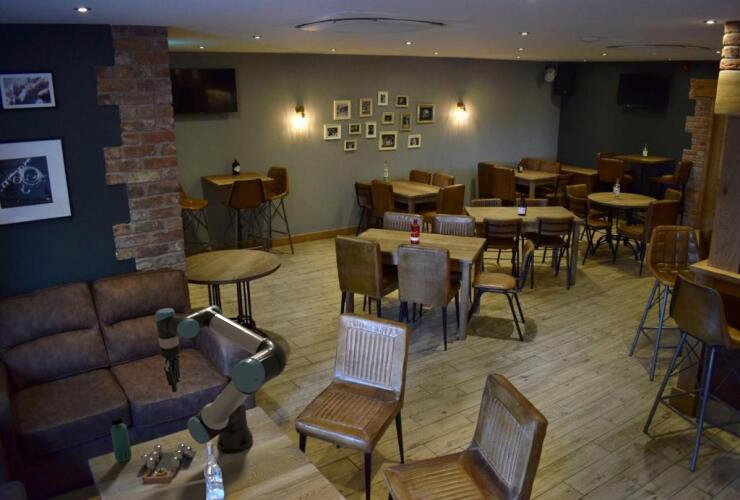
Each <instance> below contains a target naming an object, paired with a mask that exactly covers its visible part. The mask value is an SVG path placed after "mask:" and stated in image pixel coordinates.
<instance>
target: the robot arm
mask: <svg viewBox="0 0 740 500" xmlns="http://www.w3.org/2000/svg"><path fill="white" fill-rule="evenodd" d="M155 322H156V324H155V325H156V329H157V336H158V338H157V340H158V342H159V347H160V348H159V350H160V352H159V353H160V356H161V357H163V358H165V363H164V364H165V366H163V370H164V372H165V376H166V379H167V385H168V386H170V388H171V396H172V399H180V398H181V391H180V382H181V379H180V378H181V373H180V371H181V370H180V352H181V350H180V349H181V348H180V344H179V343H180V342H179V337H180V338H181V337H182V338H186V339H187V338H188V339H192V338H195V337H196V336H197V334H199V332H200V331H201V330H203V329H208V330H211V331H212V332H214V333H215V334H217V335H219V336H221V337H223V338H224V339H225V340H227V341H230V343H233V344H234V345H236V346H238V347H239V348H242V349H243V350H245V351H247V352H248V353H249V354H251V355H249V356H248V357H245V358H243V359H241V360H239V361H238V362H237V363H236V364H235V365H234V366H233V368H232V371H231V381H230V383H228V385H227V386H226V387H225V388H224V389H223V390H222V392H220V394H218V395H217V396H216V397H215V399H214V401H213V402H210V403H207V404H205V406H204V407H202V409H201V410H200V411H199V412H198V413H197V414H196V415H193V416H192V417H190V418H189V420H188V421H187V430H188V432H189V435H190V437H191V438H192V439H193V441H195V442H196V443H198V444H200V445H204V444H207V443H209V442H210V441H211V440H213V439H214V438H216V437H217V436H218V437H217V441H216V445H217V448H218V449H219V452H221V453H225V454H237V453H242V452H243V451H246V450H247V449H249V448H250V447H251V446H252V445H253V443H254V437H253V434H252V431H251V430H250V428H249V426H248V420H247V408H246V401H245V400H246V399H248V397H249V396H253V395H256V394H257V393H258V392H260V390H261V388H263V387H264V385H266V384H267V383H268V382H270V381H272V380H273V379H275V378H276V377H278V376H279V375H281V374H282V373H283V372H284V371H285V369H286V366H287V362H288V359H287V353H286V352H285V350H284V348H283V347H282V345H280V343H278V342H277V341H275V340H274V339H271V338H269V337H263V336H261V335H260V334H257V333H256V332H254V331H252V330H251V329H249V328H247V327H245V326H243V325H242V324H239V323H238V322H236V321H234V320H232V319H230V318H229V317H227V316H225V315H223V312H222V310H221V309H220V307H219V306H217V305H214V304H213V305H210V306H206V307H204V308H202V309H200V310H197V311H195V312H192V313H190V314H187V315H185V316H179V315H178V316H177V315H176V312H175V310H174V308H171V307H168V308H167V307H165V308H161V309H158V310H157V311H156V312H155Z"/></svg>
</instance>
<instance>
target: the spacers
mask: <svg viewBox="0 0 740 500" xmlns="http://www.w3.org/2000/svg"><path fill="white" fill-rule="evenodd" d="M162 447H163V446H162V444H156V445H154V446H153V450H152V451H151V452H150V453H149V454H150V456H151V457H149V454H148V453H143V454H141V455H140V463H141V467H142V468H143V469H150V471H151V473H154V472H155V470H156V468H155V465H158V464H159V459H161V458H162V457H163V453H164V452H163V448H162ZM192 447H193V446H192V445H186V443H180V444H178V445H177V449H176V450H175V451H174V452H175V456H173V457H172V458H171V463H172V470H173V469H174V468H175V467H176V472H177V471H180V470H179V469H180V464H182V463H183V462H184V461H183V458H184V457H185V458H186V460H192V459H193V453H192V451H193V448H192ZM193 460H194V459H193Z"/></svg>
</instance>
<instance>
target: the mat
mask: <svg viewBox="0 0 740 500" xmlns="http://www.w3.org/2000/svg"><path fill="white" fill-rule="evenodd" d="M192 453H193V459H192V460H186V458H185V457H184V458H183V461H184V462H183V463H182V464H180V469H179V470H178V471H188V470H189V468H190V467H191V466H192V465H191V464H192V463H193V460H194V458H195V457H196V455H197V453H198V451H197V450H196V451H193V450H192ZM148 456H149V457H151V456H150V453H149V454H148ZM173 456H175V451H173V452H163V457H162V458H161V459H159V464H158V465H155V468H156V470H155V471H157V470H158V469H160V468H166V470H167V472H168V471H169V472H172V471H173V470H172V463H171V458H172V457H173ZM147 471H148V469H143V468H142V466H141V468H140V469H139V470H138V473H146V472H147ZM155 471H154V472H155Z"/></svg>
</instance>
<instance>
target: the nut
mask: <svg viewBox="0 0 740 500" xmlns="http://www.w3.org/2000/svg"><path fill="white" fill-rule="evenodd" d="M154 474H155V477H162V476H168V471H167V470H166V468H160V469H158V470H157V471H154Z"/></svg>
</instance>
